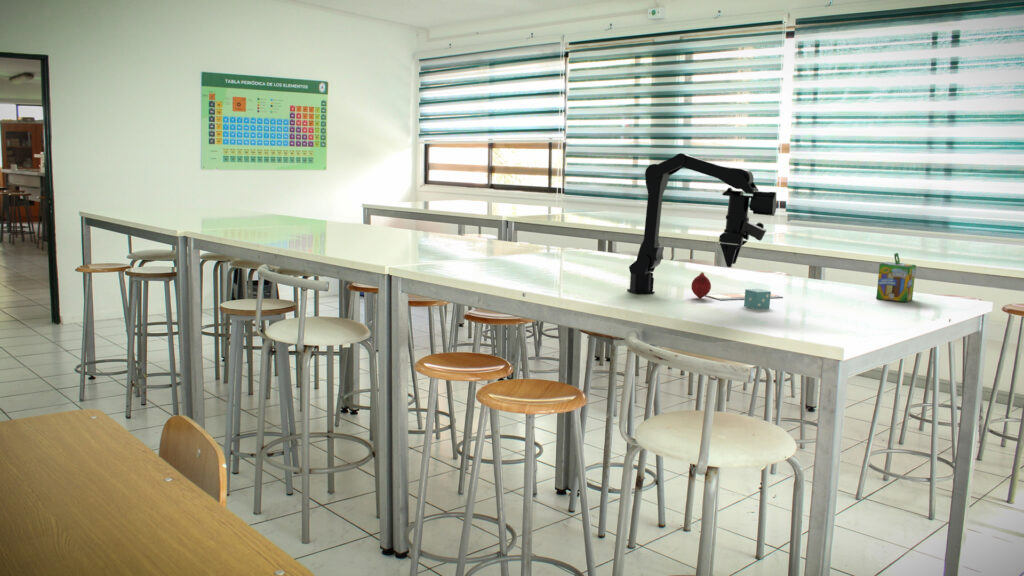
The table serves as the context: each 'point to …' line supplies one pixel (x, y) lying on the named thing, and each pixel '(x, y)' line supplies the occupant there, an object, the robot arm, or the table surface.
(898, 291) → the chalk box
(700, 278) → the onion
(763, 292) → the die
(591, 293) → the table surface
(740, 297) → the board
